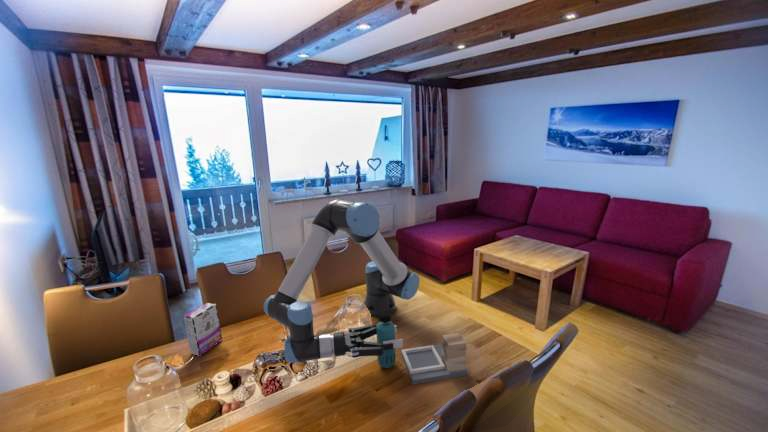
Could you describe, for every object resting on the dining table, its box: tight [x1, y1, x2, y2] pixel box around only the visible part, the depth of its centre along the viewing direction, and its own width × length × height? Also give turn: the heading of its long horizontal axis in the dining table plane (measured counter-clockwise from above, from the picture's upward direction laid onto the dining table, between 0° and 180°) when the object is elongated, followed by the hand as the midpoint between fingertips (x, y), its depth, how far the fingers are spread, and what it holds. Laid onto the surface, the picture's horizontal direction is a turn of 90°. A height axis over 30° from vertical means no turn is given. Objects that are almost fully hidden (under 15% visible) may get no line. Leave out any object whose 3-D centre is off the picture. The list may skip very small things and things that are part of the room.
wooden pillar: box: [441, 332, 467, 372], centre depth 112 cm, size 6×6×10 cm
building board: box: [400, 344, 469, 385], centre depth 116 cm, size 16×19×2 cm
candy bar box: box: [183, 302, 223, 357], centre depth 128 cm, size 11×5×16 cm, turn 161°
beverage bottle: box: [375, 312, 397, 368], centre depth 114 cm, size 6×7×20 cm
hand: (399, 335), depth 115 cm, fingers open, 8 cm apart
